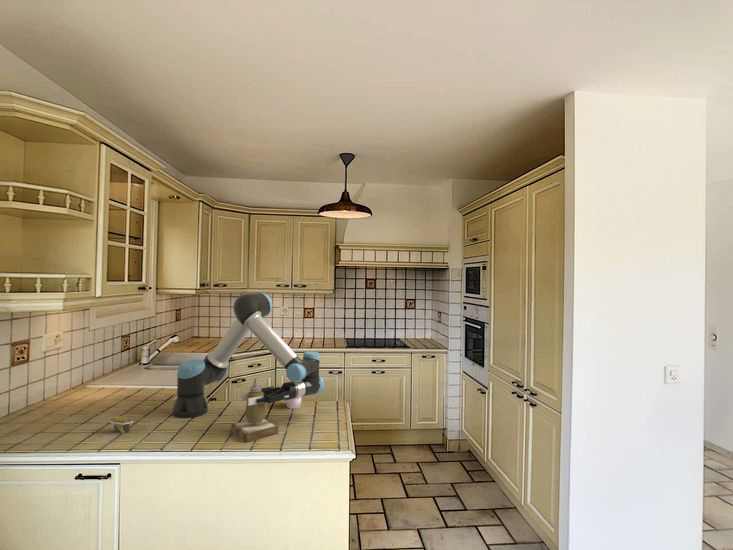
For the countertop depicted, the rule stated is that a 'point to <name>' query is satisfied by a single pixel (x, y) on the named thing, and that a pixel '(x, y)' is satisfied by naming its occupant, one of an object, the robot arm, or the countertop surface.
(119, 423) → the platform
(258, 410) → the squeeze bottle
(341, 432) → the countertop surface
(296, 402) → the mushroom
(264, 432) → the picture frame
